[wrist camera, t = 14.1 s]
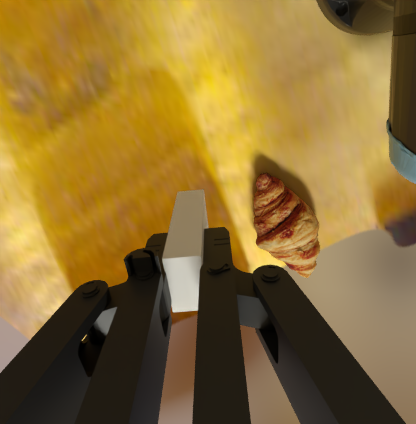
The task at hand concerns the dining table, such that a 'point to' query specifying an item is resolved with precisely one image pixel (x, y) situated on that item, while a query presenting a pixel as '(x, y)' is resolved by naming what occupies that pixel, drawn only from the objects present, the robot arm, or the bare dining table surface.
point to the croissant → (285, 225)
